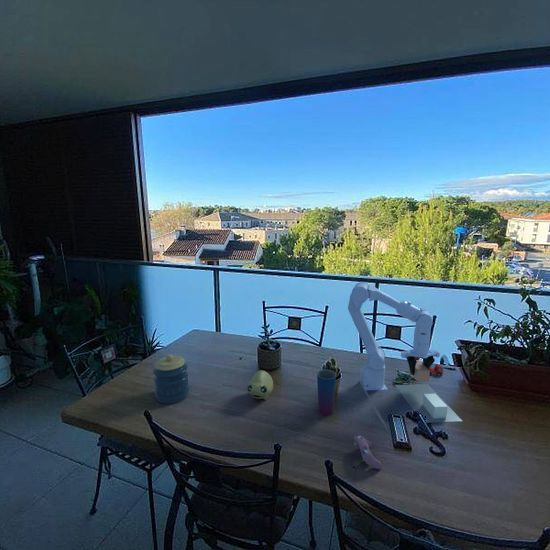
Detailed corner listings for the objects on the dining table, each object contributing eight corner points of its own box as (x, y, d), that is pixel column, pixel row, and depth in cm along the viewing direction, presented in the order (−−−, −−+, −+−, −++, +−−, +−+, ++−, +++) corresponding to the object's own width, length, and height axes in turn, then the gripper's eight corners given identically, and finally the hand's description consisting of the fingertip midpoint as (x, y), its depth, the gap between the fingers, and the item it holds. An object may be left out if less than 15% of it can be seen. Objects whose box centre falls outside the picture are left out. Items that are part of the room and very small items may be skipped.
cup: (336, 407, 121) (337, 371, 118) (333, 419, 115) (334, 380, 112) (318, 404, 123) (319, 368, 120) (314, 415, 117) (315, 377, 114)
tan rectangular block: (417, 381, 125) (418, 371, 124) (408, 371, 133) (408, 361, 132) (428, 381, 125) (429, 370, 124) (418, 371, 133) (419, 361, 132)
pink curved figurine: (358, 450, 102) (349, 434, 100) (371, 444, 102) (362, 427, 100) (369, 476, 92) (360, 458, 91) (384, 468, 92) (374, 450, 91)
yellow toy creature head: (243, 405, 123) (242, 379, 121) (252, 388, 134) (251, 364, 132) (268, 408, 121) (268, 382, 119) (275, 391, 132) (275, 367, 130)
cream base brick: (433, 418, 114) (434, 406, 113) (422, 404, 121) (423, 393, 120) (446, 417, 114) (447, 406, 113) (434, 404, 122) (435, 393, 121)
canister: (153, 407, 122) (149, 364, 119) (157, 388, 135) (154, 349, 131) (188, 402, 125) (185, 360, 121) (190, 385, 137) (187, 346, 134)
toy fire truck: (443, 376, 142) (445, 356, 140) (411, 375, 144) (413, 355, 142) (440, 373, 146) (442, 353, 144) (408, 371, 147) (410, 351, 145)
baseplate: (423, 424, 112) (423, 422, 111) (394, 386, 135) (394, 385, 135) (462, 422, 112) (462, 421, 112) (427, 385, 136) (427, 384, 136)
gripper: (407, 346, 122) (404, 379, 124) (445, 345, 122) (441, 378, 125) (399, 338, 129) (397, 370, 131) (435, 337, 129) (432, 369, 132)
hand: (418, 373), depth 129 cm, fingers closed on tan rectangular block, 4 cm apart
